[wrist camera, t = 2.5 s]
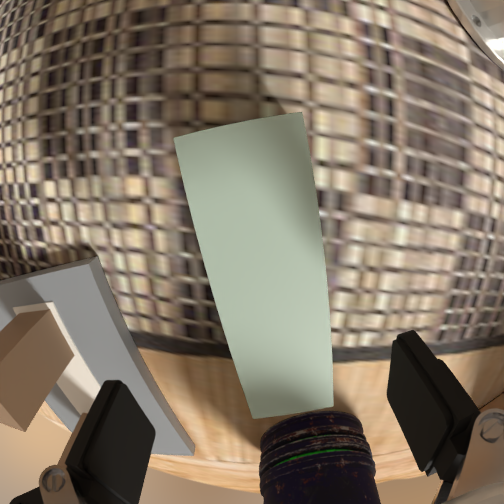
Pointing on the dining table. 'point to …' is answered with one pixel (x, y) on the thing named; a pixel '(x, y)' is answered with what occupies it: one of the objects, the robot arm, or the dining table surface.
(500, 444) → the robot arm
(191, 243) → the dining table surface
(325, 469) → the dark blue cylinder
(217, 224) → the lintel
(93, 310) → the board
